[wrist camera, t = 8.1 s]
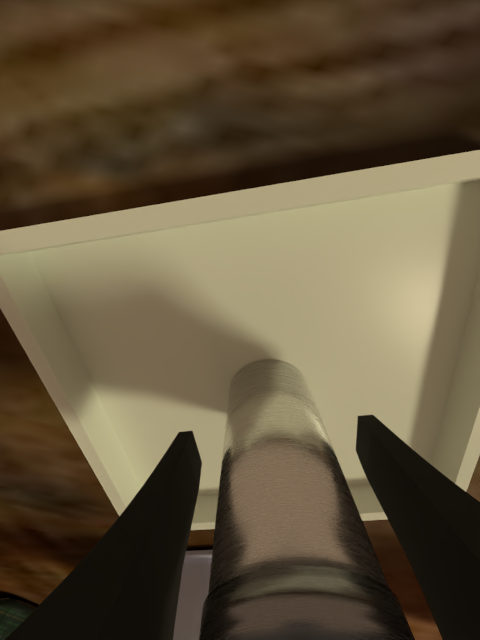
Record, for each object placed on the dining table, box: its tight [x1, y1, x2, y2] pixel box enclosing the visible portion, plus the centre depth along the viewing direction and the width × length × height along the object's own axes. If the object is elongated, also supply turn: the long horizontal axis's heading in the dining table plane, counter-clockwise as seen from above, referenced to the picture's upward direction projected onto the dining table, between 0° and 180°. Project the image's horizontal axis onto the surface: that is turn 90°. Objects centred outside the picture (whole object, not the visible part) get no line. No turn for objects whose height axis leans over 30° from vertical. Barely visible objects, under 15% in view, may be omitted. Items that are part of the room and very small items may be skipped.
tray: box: [0, 150, 480, 530], centre depth 13 cm, size 22×20×2 cm
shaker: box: [199, 359, 415, 640], centre depth 9 cm, size 5×5×9 cm
